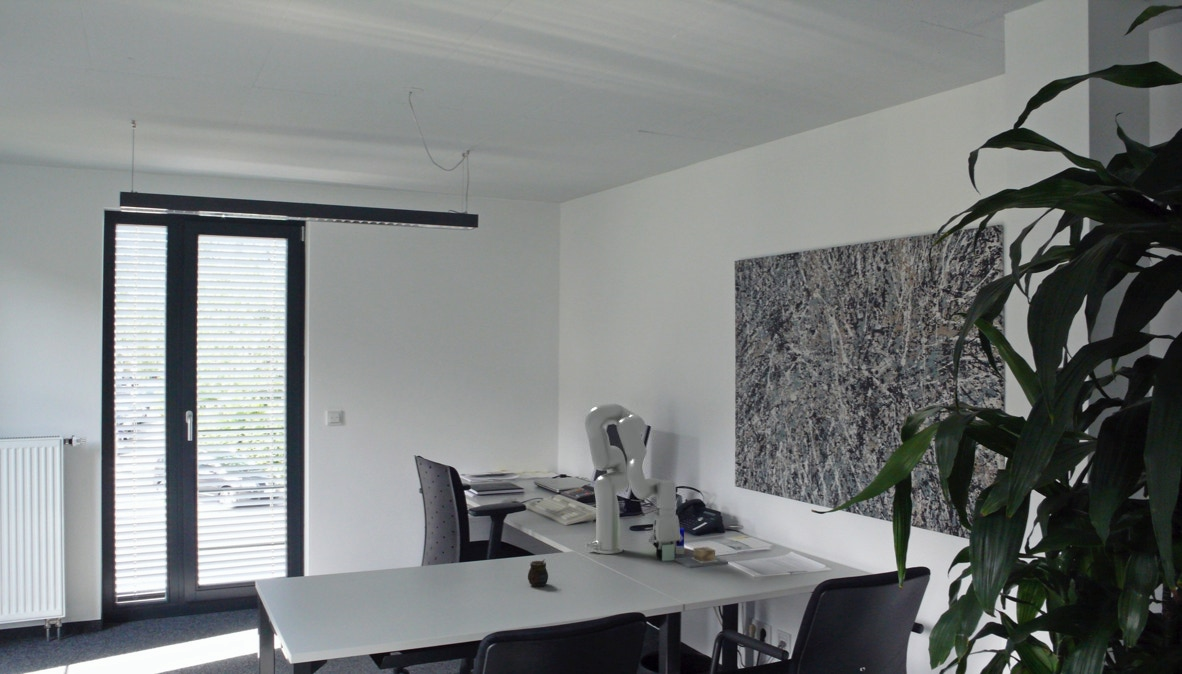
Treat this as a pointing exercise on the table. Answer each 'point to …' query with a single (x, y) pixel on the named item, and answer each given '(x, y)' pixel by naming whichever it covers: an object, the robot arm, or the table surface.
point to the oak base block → (704, 554)
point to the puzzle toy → (681, 545)
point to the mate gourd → (538, 573)
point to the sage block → (668, 551)
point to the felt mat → (699, 562)
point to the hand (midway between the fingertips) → (666, 557)
